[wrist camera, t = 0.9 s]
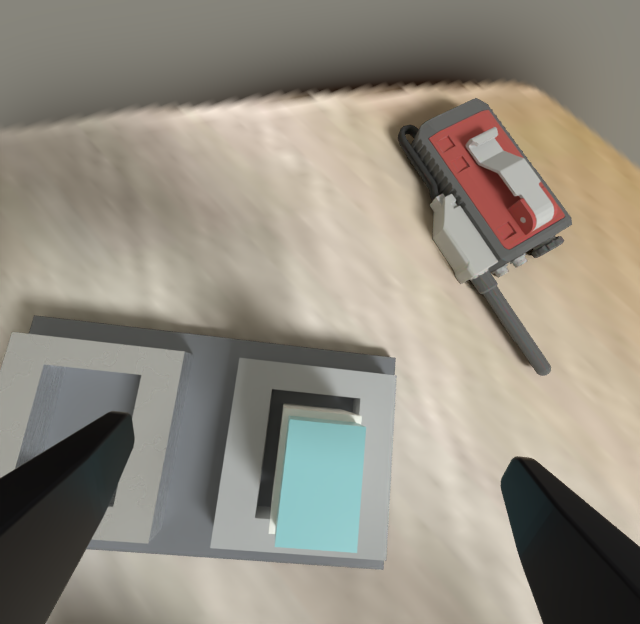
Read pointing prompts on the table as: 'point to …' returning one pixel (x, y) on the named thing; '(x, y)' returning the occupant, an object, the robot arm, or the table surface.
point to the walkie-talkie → (485, 204)
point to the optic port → (148, 418)
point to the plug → (318, 479)
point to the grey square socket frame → (249, 446)
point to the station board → (196, 425)
